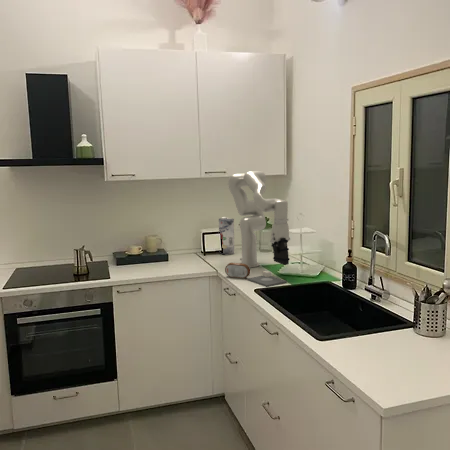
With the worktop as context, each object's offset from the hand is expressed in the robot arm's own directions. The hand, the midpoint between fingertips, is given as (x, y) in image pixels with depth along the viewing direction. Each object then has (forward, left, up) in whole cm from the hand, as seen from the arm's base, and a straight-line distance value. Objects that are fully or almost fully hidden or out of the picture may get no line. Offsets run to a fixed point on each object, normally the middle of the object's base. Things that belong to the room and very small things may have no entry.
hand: (280, 251), depth 278 cm
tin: (-9, -24, -14) cm, 29 cm away
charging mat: (+8, -16, -14) cm, 22 cm away
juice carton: (-71, +8, -14) cm, 73 cm away
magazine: (0, 0, -7) cm, 7 cm away
